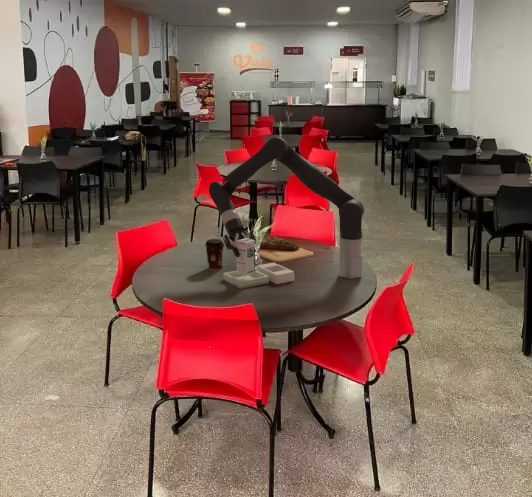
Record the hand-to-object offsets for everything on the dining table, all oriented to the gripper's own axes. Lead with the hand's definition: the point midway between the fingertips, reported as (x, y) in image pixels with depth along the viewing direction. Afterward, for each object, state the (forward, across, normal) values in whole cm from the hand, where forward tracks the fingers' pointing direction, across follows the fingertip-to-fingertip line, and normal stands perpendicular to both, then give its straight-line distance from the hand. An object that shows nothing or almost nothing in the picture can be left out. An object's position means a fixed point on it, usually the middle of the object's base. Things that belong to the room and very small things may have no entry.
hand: (246, 255), depth 271 cm
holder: (+10, +14, +7) cm, 18 cm away
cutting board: (-15, +37, +33) cm, 51 cm away
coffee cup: (-8, -2, +25) cm, 26 cm away
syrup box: (+6, 0, +6) cm, 8 cm away
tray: (+8, 0, +8) cm, 12 cm away
